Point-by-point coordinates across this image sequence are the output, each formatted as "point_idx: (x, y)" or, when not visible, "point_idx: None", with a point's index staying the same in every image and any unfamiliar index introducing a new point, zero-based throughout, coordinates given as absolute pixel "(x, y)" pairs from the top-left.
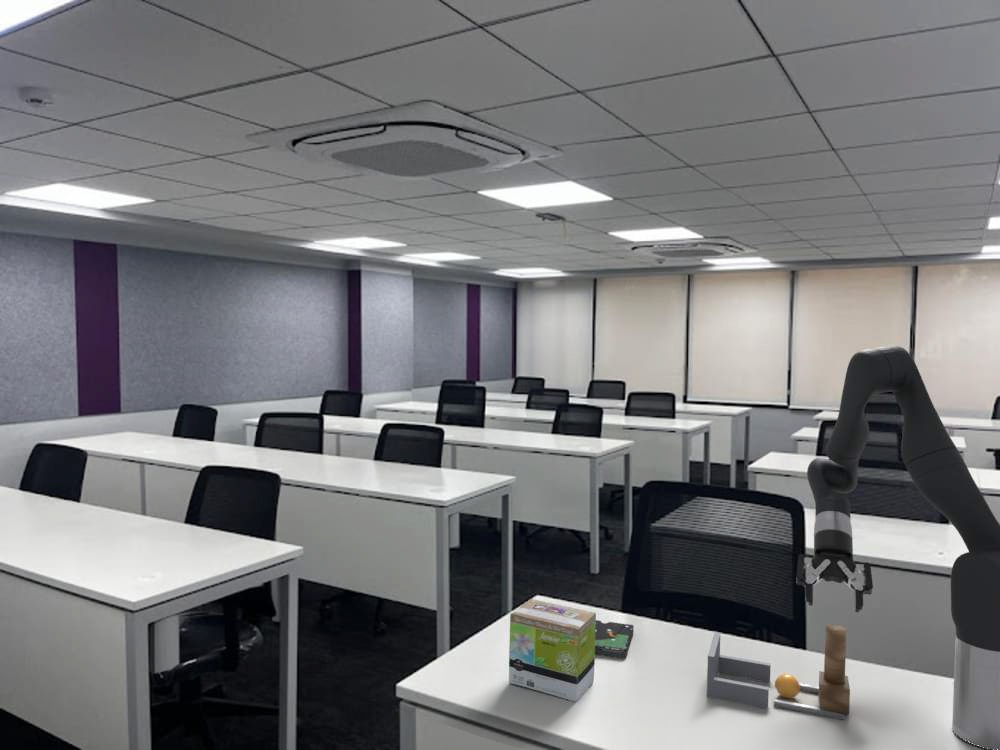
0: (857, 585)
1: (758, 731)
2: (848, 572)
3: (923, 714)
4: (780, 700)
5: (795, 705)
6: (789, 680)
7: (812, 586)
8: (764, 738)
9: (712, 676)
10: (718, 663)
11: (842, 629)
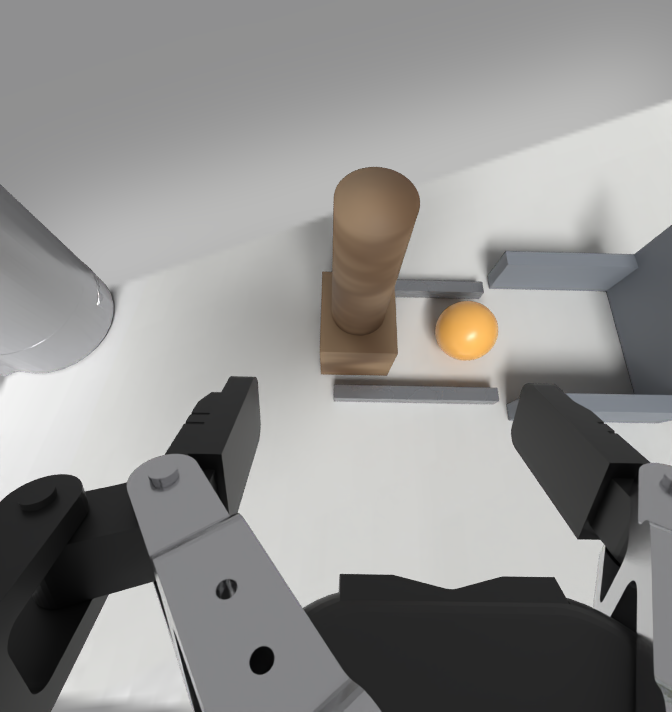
0: (177, 495)
1: (487, 191)
2: (235, 634)
3: (149, 379)
4: (469, 289)
5: (436, 281)
6: (467, 303)
7: (601, 449)
8: (474, 175)
9: (643, 250)
10: (662, 377)
11: (350, 197)
